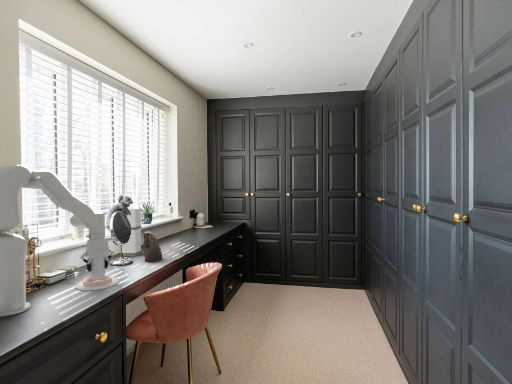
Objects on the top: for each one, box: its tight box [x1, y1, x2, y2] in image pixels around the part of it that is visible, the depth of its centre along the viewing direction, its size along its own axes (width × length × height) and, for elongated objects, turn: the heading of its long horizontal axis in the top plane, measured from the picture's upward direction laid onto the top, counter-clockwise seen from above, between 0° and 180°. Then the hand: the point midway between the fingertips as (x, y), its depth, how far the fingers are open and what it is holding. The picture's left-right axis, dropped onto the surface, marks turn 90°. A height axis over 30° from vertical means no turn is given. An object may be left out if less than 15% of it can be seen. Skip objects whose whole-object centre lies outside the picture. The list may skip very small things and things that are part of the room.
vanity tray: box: [74, 274, 120, 292], centre depth 157 cm, size 20×20×3 cm
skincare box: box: [89, 253, 106, 277], centre depth 156 cm, size 6×4×12 cm
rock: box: [142, 230, 164, 263], centre depth 209 cm, size 13×13×20 cm
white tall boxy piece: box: [122, 207, 142, 257], centre depth 227 cm, size 11×11×35 cm
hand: (97, 269), depth 157 cm, fingers closed on skincare box, 7 cm apart
